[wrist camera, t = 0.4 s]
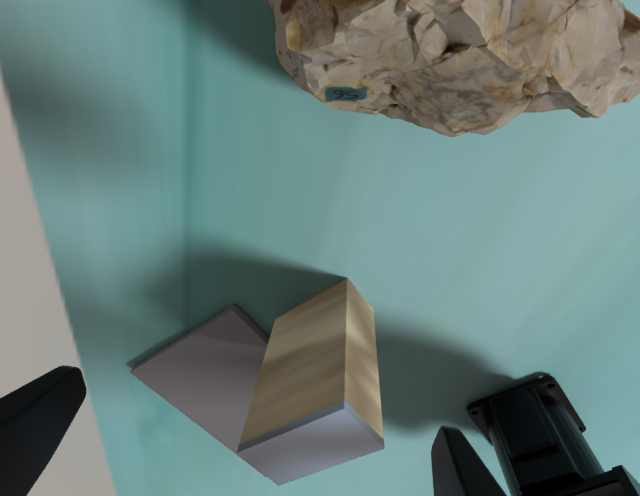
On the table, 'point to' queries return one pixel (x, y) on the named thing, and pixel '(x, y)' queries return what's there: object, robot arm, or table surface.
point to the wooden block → (316, 389)
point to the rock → (461, 57)
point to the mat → (211, 374)
